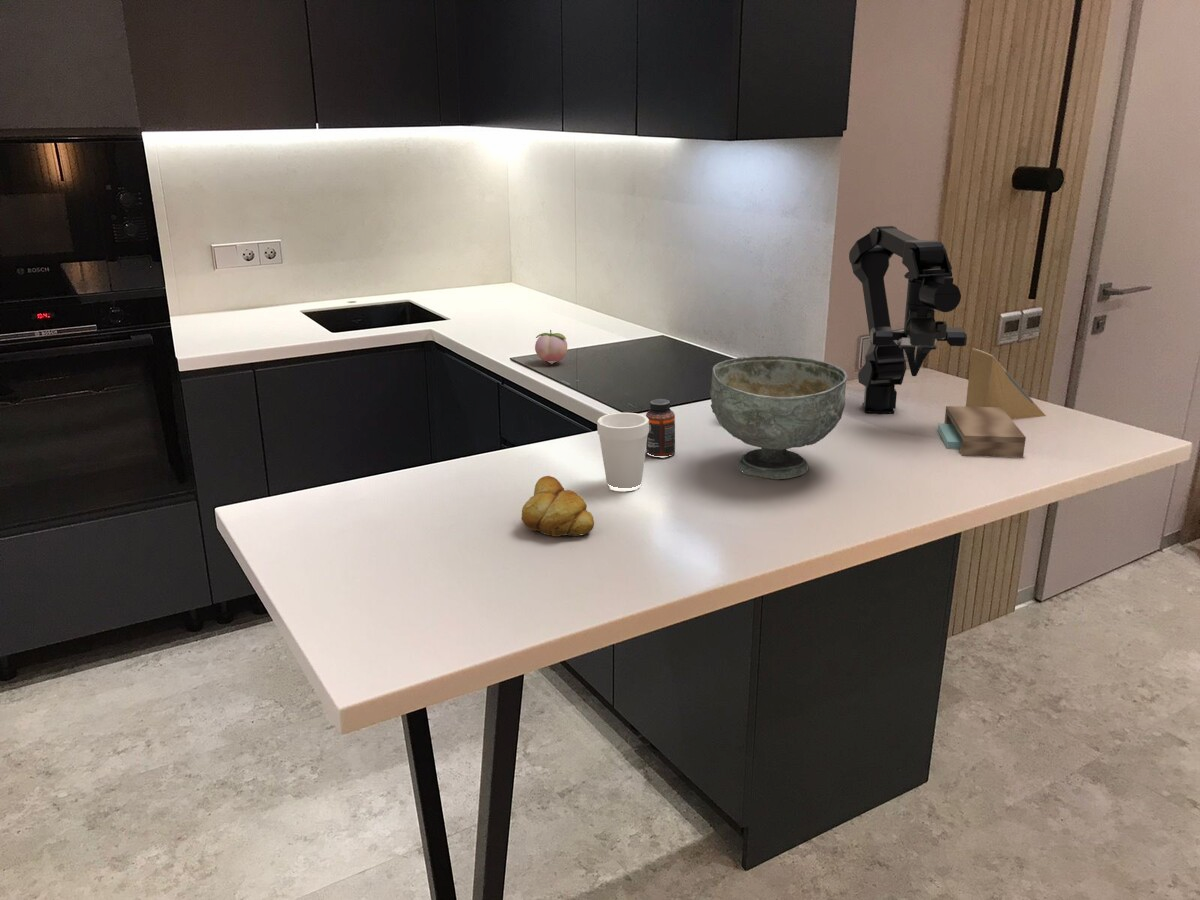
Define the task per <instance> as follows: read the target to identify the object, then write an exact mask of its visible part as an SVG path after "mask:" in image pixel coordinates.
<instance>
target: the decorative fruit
mask: <svg viewBox="0 0 1200 900" xmlns="http://www.w3.org/2000/svg"><path fill="white" fill-rule="evenodd" d="M549 332H550V333H549ZM549 332H542V333H539V334H537V335H536V337H535V339H536V341H535V345H534V351H535V353H536V355H537V357H539V359H541V360H542V361H543V360H544V361H543V362H545V361H559V362H560V360H561V361H562V360H563V359H564V358H565V357H566V355H567V352H568V342H567V338H566V336H565V335H564V334H563V333H559V332H557V333H556V332H555V333H554V332H552V329H549Z"/></svg>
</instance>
